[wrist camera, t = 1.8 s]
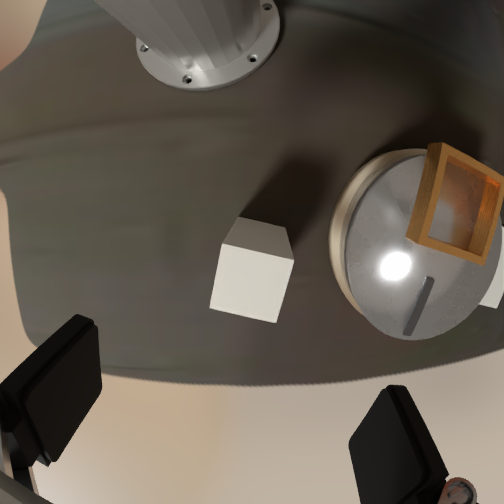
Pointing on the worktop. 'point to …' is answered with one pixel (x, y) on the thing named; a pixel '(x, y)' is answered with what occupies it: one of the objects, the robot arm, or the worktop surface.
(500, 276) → the mat
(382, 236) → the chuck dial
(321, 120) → the worktop surface
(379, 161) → the base
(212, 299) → the white rectangular block
